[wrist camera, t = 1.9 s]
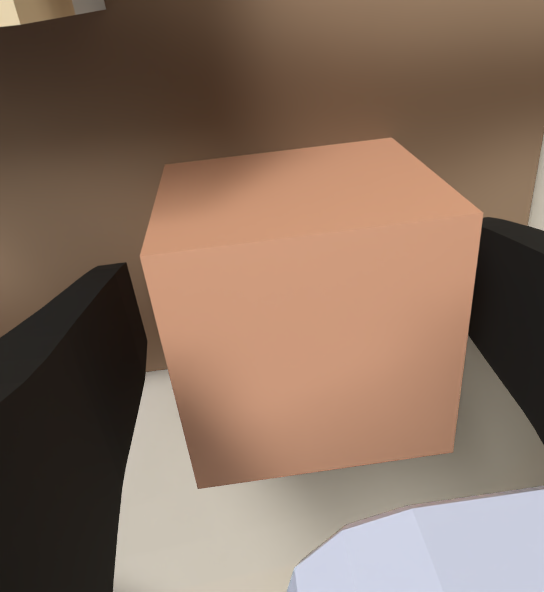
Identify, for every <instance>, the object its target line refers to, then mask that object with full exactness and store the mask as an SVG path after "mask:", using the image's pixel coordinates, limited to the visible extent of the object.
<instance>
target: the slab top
mask: <svg viewBox="0 0 544 592" xmlns="http://www.w3.org/2000/svg"><path fill="white" fill-rule="evenodd" d="M72 15H75V11H74V7H73V3H72V0H0V27H4V26H13V25H22V24H27V23H33V22H39V21H44V20H50V19H55V18H61V17H66V16H72Z"/></svg>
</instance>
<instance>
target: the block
mask: <svg viewBox="0 0 544 592" xmlns="http://www.w3.org/2000/svg"><path fill="white" fill-rule="evenodd" d="M482 221H483V212H482V211H480V210H479V209H478V208H477V207H476V206H474V205H473V204H472V203H471V202H470V201H468V200H467V199H466V198H465V197H463V196H462V195H461V194H460V193H459V192H457V191H456V190H455V189H454V188H453V187H451V186H450V185H449V184H448V183H446V182H445V181H444V180H443V179H442V178H440V177H439V176H438V175H437V174H435V173H434V172H433V171H432V170H431V169H429V168H428V167H427V166H426V165H425V164H423V163H422V162H421V161H420V160H418V159H417V158H416V157H415V156H414V155H412V154H411V153H410V152H409V151H408V150H406V149H405V148H404V147H403V146H401V145H400V144H399V143H398V142H397V141H395V140H394V139H393V138H383V139H375V140H367V141H358V142H350V143H342V144H333V145H325V146H316V147H308V148H300V149H291V150H283V151H275V152H266V153H258V154H250V155H241V156H233V157H224V158H216V159H208V160H199V161H191V162H183V163H174V164H166V165H165V166H164V169H163V173H162V177H161V180H160V184H159V188H158V191H157V195H156V199H155V202H154V206H153V209H152V213H151V217H150V220H149V224H148V228H147V231H146V235H145V239H144V242H143V246H142V249H141V253H140V260H141V264H142V268H143V272H144V276H145V280H146V284H147V288H148V292H149V296H150V300H151V304H152V308H153V312H154V316H155V320H156V324H157V328H158V332H159V336H160V340H161V344H162V348H163V352H164V356H165V360H166V364H167V368H168V372H169V376H170V380H171V384H172V387H173V391H174V395H175V399H176V403H177V407H178V411H179V415H180V419H181V423H182V427H183V431H184V435H185V439H186V443H187V447H188V451H189V455H190V459H191V463H192V467H193V471H194V475H195V479H196V483H197V487H198V489H201V488H208V487H215V486H222V485H229V484H236V483H243V482H250V481H257V480H263V479H270V478H277V477H284V476H291V475H298V474H305V473H312V472H319V471H326V470H333V469H340V468H347V467H354V466H361V465H368V464H375V463H382V462H389V461H396V460H403V459H410V458H417V457H424V456H431V455H438V454H445V453H452V452H453V448H454V440H455V432H456V424H457V417H458V409H459V401H460V393H461V385H462V377H463V370H464V362H465V354H466V346H467V338H468V330H469V322H470V315H471V307H472V299H473V291H474V283H475V275H476V268H477V260H478V252H479V244H480V236H481V228H482Z"/></svg>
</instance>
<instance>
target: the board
mask: <svg viewBox="0 0 544 592" xmlns="http://www.w3.org/2000/svg"><path fill="white" fill-rule="evenodd" d="M104 2H105V7H106V10H100V11H94V12H89V13H83V14H78V15H72V16H66V17H61V18H55V19H50V20H44V21H39V22H33V23H27V24H22V25H13V26H4V27H0V337H2V336H3V335H5V334H6V333H8V332H9V331H10V330H12V329H13V328H15V327H16V326H17V325H19V324H20V323H22V322H23V321H24V320H26V319H27V318H28V317H30V316H31V315H33V314H34V313H35V312H37V311H38V310H40V309H41V308H42V307H43V306H45V305H46V304H47V303H48V302H50V301H51V300H52V299H54V298H55V297H56V296H57V295H59V294H60V293H61V292H62V291H64V290H65V289H66V288H67V287H69V286H70V285H71V284H73V283H74V282H75V281H76V280H78V279H79V278H80V277H82V276H83V275H84V274H86V273H87V272H88V271H90V270H91V269H93V268H95V267H96V266H100V265H108V264H116V263H124V262H127V266H128V270H129V274H130V277H131V281H132V285H133V289H134V292H135V296H136V300H137V304H138V307H139V311H140V315H141V319H142V322H143V326H144V330H145V333H146V337H147V359H146V372H149V371H156V370H164V369H168V368H167V364H166V360H165V356H164V352H163V348H162V344H161V340H160V336H159V332H158V328H157V324H156V320H155V316H154V312H153V308H152V304H151V300H150V296H149V292H148V288H147V284H146V280H145V276H144V272H143V268H142V264H141V260H140V253H141V249H142V246H143V242H144V239H145V235H146V231H147V228H148V224H149V220H150V217H151V213H152V209H153V206H154V202H155V199H156V195H157V191H158V188H159V184H160V180H161V177H162V173H163V169H164V166H165V165H166V164H174V163H183V162H191V161H199V160H208V159H216V158H224V157H233V156H241V155H250V154H258V153H266V152H275V151H283V150H291V149H300V148H308V147H316V146H325V145H333V144H342V143H350V142H358V141H367V140H375V139H383V138H393V139H394V140H395V141H397V142H398V143H399V144H400V145H401V146H403V147H404V148H405V149H406V150H408V151H409V152H410V153H411V154H412V155H414V156H415V157H416V158H417V159H418V160H420V161H421V162H422V163H423V164H425V165H426V166H427V167H428V168H429V169H431V170H432V171H433V172H434V173H435V174H437V175H438V176H439V177H440V178H442V179H443V180H444V181H445V182H446V183H448V184H449V185H450V186H451V187H453V188H454V189H455V190H456V191H457V192H459V193H460V194H461V195H462V196H463V197H465V198H466V199H467V200H468V201H470V202H471V203H472V204H473V205H474V206H476V207H477V208H478V209H479V210H480V211H482V212H483V218H484V217H492V218H499V219H503V220H508V221H511V222H515V223H519V224H522V225H526V226H527V225H528V219H529V213H530V208H531V202H532V196H533V191H534V185H535V179H536V174H537V168H538V162H539V157H540V151H541V145H542V140H543V134H544V0H104Z"/></svg>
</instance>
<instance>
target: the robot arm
mask: <svg viewBox="0 0 544 592" xmlns="http://www.w3.org/2000/svg"><path fill="white" fill-rule="evenodd" d="M468 335H469V336H470V338H471V339H472V341H473V342H474V344H475V345H476V346H477V348H478V349H479V351H480V352H481V354H482V355H483V356H484V358H485V359H486V361H487V362H488V363H489V365H490V366H491V368H492V369H493V370H494V372H495V373H496V374H497V376H498V377H499V379H500V380H501V381H502V383H503V384H504V385H505V387H506V388H507V390H508V391H509V392H510V394H511V395H512V396H513V398H514V399H515V401H516V402H517V403H518V405H519V406H520V407H521V409H522V410H523V412H524V413H525V415H526V416H527V418H528V419H529V421H530V422H531V424H532V425H533V427H534V428H535V430H536V432H537V434H538V435H539V437H540V439H541V441H542V443H543V444H544V231H542V230H539V229H536V228H532V227H529V226H526V225H522V224H519V223H515V222H511V221H508V220H503V219H499V218H492V217H484V218H483V221H482V228H481V236H480V244H479V252H478V260H477V268H476V275H475V283H474V291H473V299H472V307H471V315H470V322H469V330H468ZM146 359H147V337H146V333H145V330H144V326H143V322H142V319H141V315H140V311H139V307H138V304H137V300H136V296H135V292H134V289H133V285H132V281H131V277H130V274H129V270H128V266H127V262H124V263H116V264H108V265H100V266H96V267H95V268H93V269H91V270H90V271H88V272H87V273H86V274H84V275H83V276H82V277H80V278H79V279H78V280H76V281H75V282H74V283H73V284H71V285H70V286H69V287H67V288H66V289H65V290H64V291H62V292H61V293H60V294H59V295H57V296H56V297H55V298H54V299H52V300H51V301H50V302H48V303H47V304H46V305H45V306H43V307H42V308H41V309H40V310H38V311H37V312H35V313H34V314H33V315H31V316H30V317H28V318H27V319H26V320H24V321H23V322H22V323H20V324H19V325H17V326H16V327H15V328H13V329H12V330H10V331H9V332H8V333H6V334H5V335H3V336H2V337H0V592H113V580H114V568H115V556H116V545H117V533H118V523H119V514H120V504H121V494H122V486H123V480H124V474H125V468H126V463H127V459H128V454H129V450H130V446H131V441H132V437H133V432H134V428H135V423H136V419H137V414H138V410H139V405H140V400H141V396H142V391H143V386H144V381H145V373H146ZM287 592H544V486H538V487H531V488H524V489H517V490H510V491H503V492H496V493H490V494H483V495H476V496H469V497H462V498H455V499H448V500H441V501H434V502H427V503H420V504H413V505H407V506H403V507H400V508H397V509H394V510H391V511H388V512H384V513H381V514H378V515H375V516H372V517H369V518H365V519H362V520H359V521H356V522H353V523H350V524H346V525H345V526H344V527H342V528H341V529H340V530H338V531H337V532H336V533H335V534H333V535H332V536H331V537H330V538H328V539H327V540H326V541H325V542H323V543H322V544H321V545H319V546H318V547H317V548H316V549H314V550H313V551H312V552H311V553H309V554H308V555H307V556H306V557H304V558H303V559H302V560H301V561H300V562H299V564H298V565H297V566H296V567H295V568H294V570H293V573H292V577H291V580H290V583H289V586H288V589H287Z"/></svg>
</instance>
